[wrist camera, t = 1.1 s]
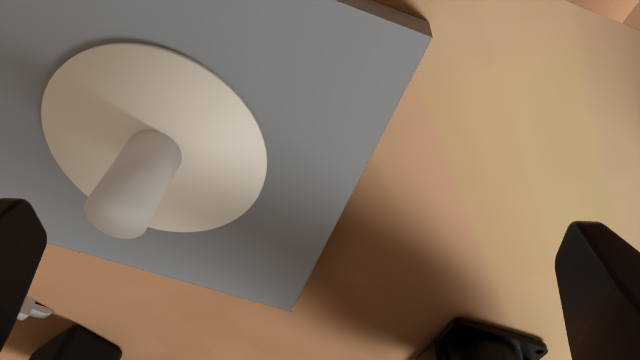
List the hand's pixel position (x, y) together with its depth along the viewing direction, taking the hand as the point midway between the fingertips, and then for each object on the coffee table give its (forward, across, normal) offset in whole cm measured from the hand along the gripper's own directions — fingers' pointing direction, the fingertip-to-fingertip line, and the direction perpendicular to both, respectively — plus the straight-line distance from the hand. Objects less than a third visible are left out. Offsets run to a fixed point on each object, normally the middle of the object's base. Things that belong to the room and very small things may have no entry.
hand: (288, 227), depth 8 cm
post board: (+13, +8, +7) cm, 17 cm away
